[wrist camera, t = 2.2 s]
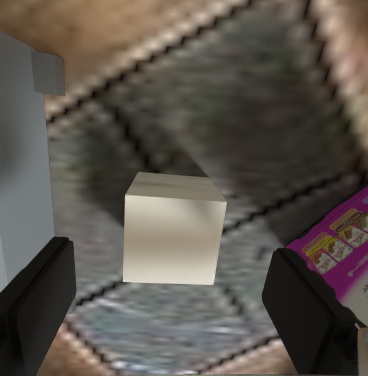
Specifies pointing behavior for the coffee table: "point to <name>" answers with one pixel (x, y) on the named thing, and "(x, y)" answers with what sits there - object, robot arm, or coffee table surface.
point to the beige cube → (172, 229)
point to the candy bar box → (341, 253)
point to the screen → (25, 154)
